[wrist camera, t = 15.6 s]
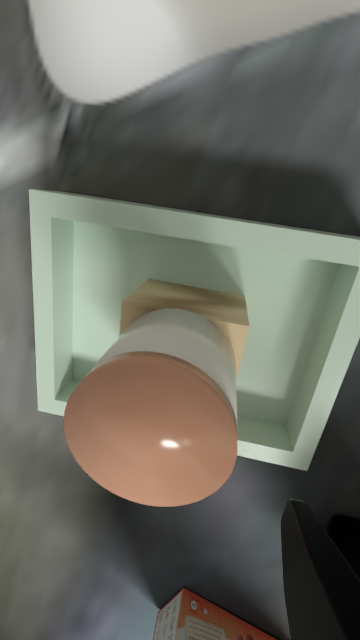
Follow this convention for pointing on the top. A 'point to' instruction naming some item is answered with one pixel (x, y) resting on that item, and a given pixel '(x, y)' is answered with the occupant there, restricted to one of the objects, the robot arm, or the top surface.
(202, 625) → the cracker box
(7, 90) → the top surface
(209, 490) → the cream tub
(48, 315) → the green tote
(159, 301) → the oak block
